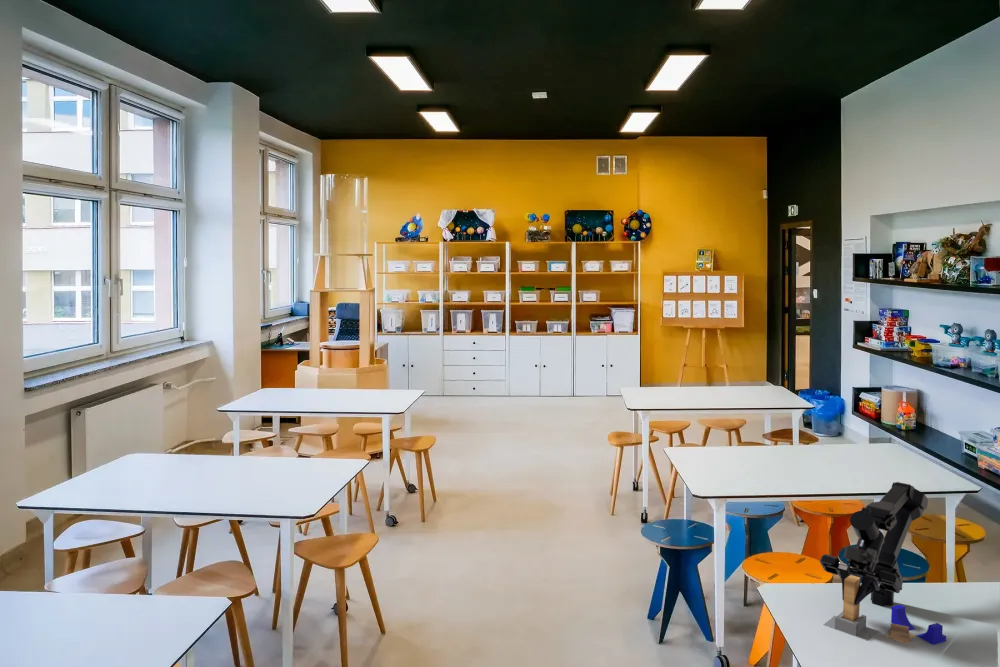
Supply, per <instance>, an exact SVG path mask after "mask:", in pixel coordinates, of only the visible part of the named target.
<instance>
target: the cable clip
mask: <svg viewBox="0 0 1000 667" xmlns="http://www.w3.org/2000/svg"><path fill="white" fill-rule="evenodd" d="M906 612H907V611H906V606H904V605H902V604H897V605H894V606H893V605H892V606H891V616H890V617H891V619H890V624H891V623H893V624H898V625H903V626H908V627H909V632H911V631H915V630H916V628H915V626H913V625H912V623H911V622H910V621H909V618H908V616H907V613H906ZM943 629H944V628H943V625H942V624H940V623H938V622H936V623H931V624H928V626H927V631H926V632H923V633H919V634H916V635H915V634H914V635H915V636H914V637H918V638H919V639H921V640H923V641H926V642H927V643H929V644H931V645H933V646H934V645H937V644H941V643H944V642H947V635H945V634H944V633H943V631H944V630H943Z"/></svg>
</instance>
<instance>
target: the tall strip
mask: <svg viewBox="0 0 1000 667" xmlns="http://www.w3.org/2000/svg"><path fill="white" fill-rule="evenodd" d="M861 579H862V577H860V576H857V575H854V574H852V575H850V576H848V577H847V578H846V579H844V601H843V602H842V603H843V605H842V612H843V619H846V620H849V621H852V622H854V621H855V620H857V619H858V618H859V617H860V606H861V605H860V603H861V602H860V603H859V604H857V605H855V604H854V602H855V598H856V595H857V593H858V591H859V588H860V586H861V583H862V580H861Z"/></svg>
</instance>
